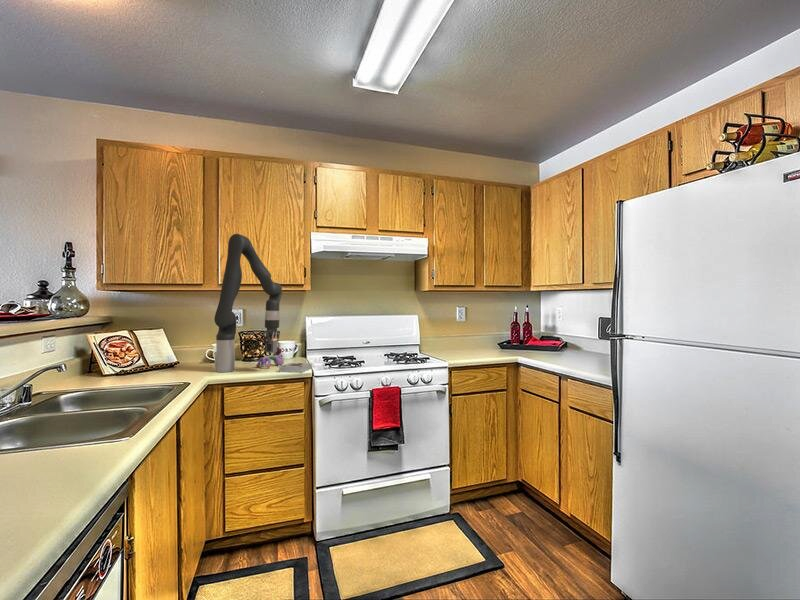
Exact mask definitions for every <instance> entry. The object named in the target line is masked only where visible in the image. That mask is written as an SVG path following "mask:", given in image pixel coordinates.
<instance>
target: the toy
mask: <svg viewBox="0 0 800 600" xmlns="http://www.w3.org/2000/svg"><path fill="white" fill-rule="evenodd" d="M272 361H273V363H274V364H275V365H276V366H278V365H280V366H282V365H284V363H285V357H284V355H283V354H282V349H281V348H280V347H278V346H277V352H275V353H274V355H265V356H263V357H262V356H261V357H260V358H259V359H258V362H257V364H256V368H257V367H259V368H260V367H264V366H266V364H267V366H266V369H267V370H270V368H271V365H272Z"/></svg>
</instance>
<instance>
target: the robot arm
mask: <svg viewBox="0 0 800 600" xmlns="http://www.w3.org/2000/svg"><path fill="white" fill-rule="evenodd" d="M227 245H228V246H227V257H226V262H225V267H224V273H223V277H222V283H221V289H220V295H219V299H218V304H217V308H216V311H215V314H214V323H215V325H216V326H217V327H218V331H217V334H216V336H215V337H216V339H215V340H216V343H215V344H216V348H215V349H216V350H215V351H216V353H214V372H215V371H216V372H215V373H231V372H234V371H236V369H235V368H236V367H235V366H236V365H235V364H236V363H235V361H236V358H235V357H236V356H235V353H236V352H235V351H236V348H235V346H236V345H235V344H236V343H235V340H236V333H237V316H236V314H235V313H234V312H233V306H234V304H235V303H234V302H235V300H236V298H237V296H238V295H239V292H240V289H241V285H242V279H243V272H242V267H241V259H242V258H241V256H242V255H243V256H244V257H245V258H246V260H247V262H248V264H249V267H250V269H251V271H252V273H253V274H254V275H255V277H256V279H257V280H258V281H259V283H260V286H261V287H262V290H263V291H264V292H265V294H267V295H269V297H268V299H267V300H266V301H265V312H264V328H266V331H265V332H263V333H262V335H263V342H264V344H265V345H266V344H267V351H271V341H272V339H277V343H278V342H279V340H280V334H281V331H280V330H278V328H280V316H281V315H280V301H281V297H282V293H283V288H282V286H281V284H280V283H279V282H275V281H273V279H272V274H271V272H270V271H269V270H268V268H267V267H266V266H265V264H264V262H262V260H261V258H260V257H259V255H258V253H257V252H256V250H255V247H254V245H253V244H252V241H251V239H249V238H248V237H247V236H245V235H243V234H239V233H234V234H232V235H231V236H230V237H229V240H228V243H227ZM269 340H270V341H269Z"/></svg>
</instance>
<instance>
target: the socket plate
mask: <svg viewBox="0 0 800 600" xmlns="http://www.w3.org/2000/svg"><path fill="white" fill-rule="evenodd" d="M311 368H312V369H313V363H309V362H289V363H286V364H282V365H280V366H279V368H278V370H279V371H278V372H279V373H293V374H294V373H295V374H296V373H297V374H298V373H299V374H302V373H305V372H307V371H310V370H312V369H311ZM309 369H310V370H309Z"/></svg>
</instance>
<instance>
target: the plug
mask: <svg viewBox="0 0 800 600" xmlns="http://www.w3.org/2000/svg"><path fill="white" fill-rule="evenodd" d="M269 341H270V340H269ZM277 348H278V342H277V339H272V341H271V351H267V344H266V343H265V353H270V354H273V353H274V354H275V353H276V352H277Z"/></svg>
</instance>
